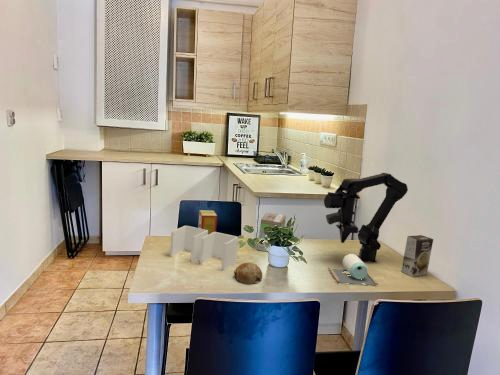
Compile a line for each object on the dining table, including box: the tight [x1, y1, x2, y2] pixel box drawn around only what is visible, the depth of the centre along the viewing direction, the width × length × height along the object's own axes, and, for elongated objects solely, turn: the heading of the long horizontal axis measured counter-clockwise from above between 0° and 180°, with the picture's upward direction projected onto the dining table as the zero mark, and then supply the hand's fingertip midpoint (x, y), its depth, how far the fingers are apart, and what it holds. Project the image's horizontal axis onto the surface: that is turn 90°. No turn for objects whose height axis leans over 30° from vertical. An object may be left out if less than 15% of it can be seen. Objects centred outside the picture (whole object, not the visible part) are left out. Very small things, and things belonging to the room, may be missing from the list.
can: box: [342, 253, 369, 279], centre depth 163 cm, size 7×7×12 cm
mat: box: [327, 266, 379, 286], centre depth 162 cm, size 16×14×1 cm
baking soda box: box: [197, 209, 218, 235], centre depth 181 cm, size 10×6×16 cm
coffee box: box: [400, 234, 434, 278], centre depth 171 cm, size 9×6×16 cm
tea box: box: [257, 212, 287, 252], centre depth 188 cm, size 15×10×15 cm
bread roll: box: [233, 262, 263, 285], centre depth 150 cm, size 10×10×8 cm
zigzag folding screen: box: [169, 225, 239, 271], centre depth 165 cm, size 25×11×11 cm, turn 67°
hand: (342, 242), depth 178 cm, fingers closed
